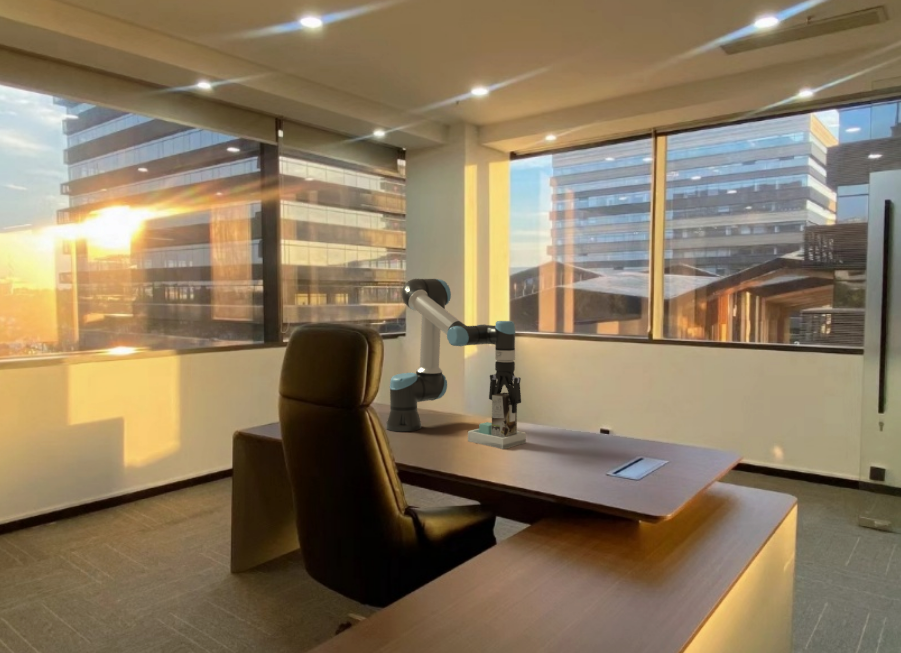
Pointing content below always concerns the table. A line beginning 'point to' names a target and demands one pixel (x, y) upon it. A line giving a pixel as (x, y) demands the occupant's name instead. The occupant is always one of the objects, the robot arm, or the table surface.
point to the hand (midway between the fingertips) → (504, 419)
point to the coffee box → (502, 416)
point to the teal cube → (485, 428)
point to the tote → (496, 439)
